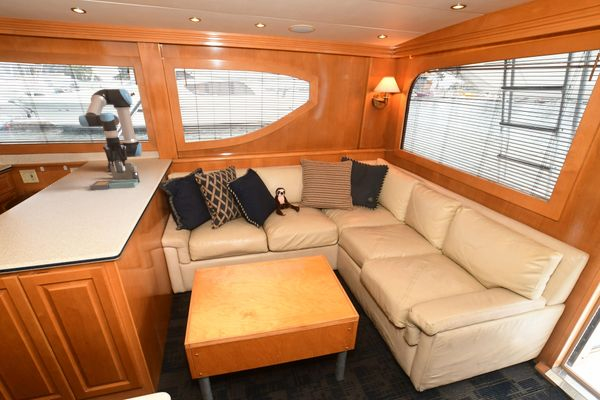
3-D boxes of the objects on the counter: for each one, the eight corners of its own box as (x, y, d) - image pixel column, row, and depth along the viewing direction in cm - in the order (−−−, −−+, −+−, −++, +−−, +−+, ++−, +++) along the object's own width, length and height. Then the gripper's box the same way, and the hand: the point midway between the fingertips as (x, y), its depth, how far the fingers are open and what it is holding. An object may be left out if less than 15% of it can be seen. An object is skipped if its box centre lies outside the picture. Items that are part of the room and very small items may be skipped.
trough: (113, 185, 198) (112, 180, 196) (138, 183, 201) (137, 179, 200) (109, 188, 190) (108, 184, 189) (134, 187, 194) (133, 182, 193)
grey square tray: (98, 185, 196) (96, 181, 195) (113, 184, 198) (112, 180, 197) (91, 190, 187) (90, 185, 186) (108, 189, 189) (106, 184, 188)
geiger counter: (136, 161, 208) (106, 159, 210) (131, 163, 202) (99, 161, 204) (140, 178, 213) (110, 177, 215) (135, 180, 207) (104, 179, 209)
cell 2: (134, 181, 206) (132, 170, 202) (140, 181, 207) (138, 170, 203) (133, 183, 202) (130, 172, 199) (139, 182, 203) (136, 171, 200)
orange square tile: (98, 183, 194) (98, 181, 194) (109, 182, 196) (109, 181, 195) (94, 186, 188) (94, 184, 188) (105, 185, 190) (105, 184, 189)
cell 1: (118, 171, 193) (115, 159, 190) (124, 171, 194) (122, 159, 191) (116, 173, 189) (113, 161, 186) (122, 172, 190) (120, 160, 187)
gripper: (95, 138, 177) (104, 172, 186) (124, 137, 181) (132, 171, 190) (100, 136, 184) (108, 169, 193) (128, 135, 188) (135, 168, 197)
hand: (120, 170), depth 191 cm, fingers closed on cell 1, 4 cm apart
